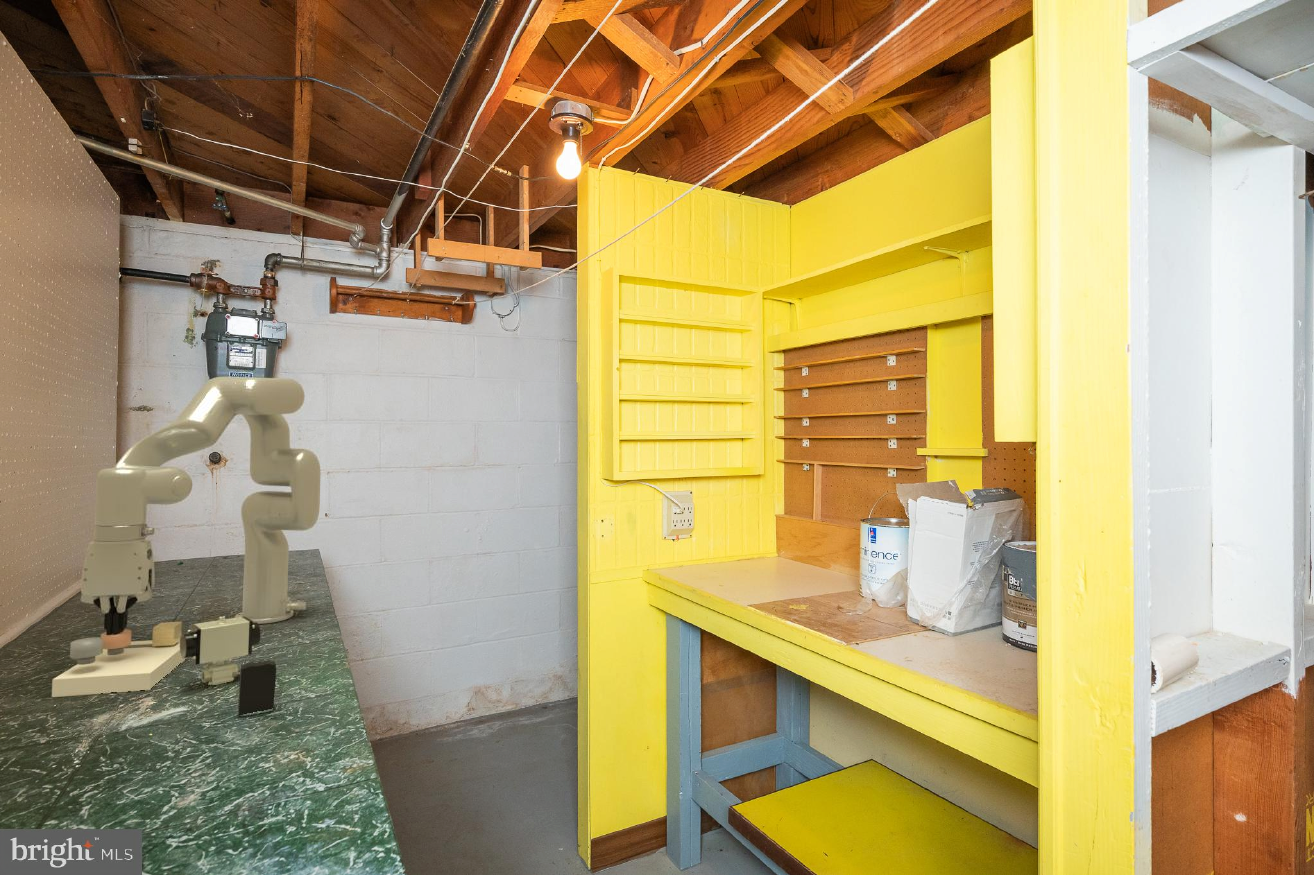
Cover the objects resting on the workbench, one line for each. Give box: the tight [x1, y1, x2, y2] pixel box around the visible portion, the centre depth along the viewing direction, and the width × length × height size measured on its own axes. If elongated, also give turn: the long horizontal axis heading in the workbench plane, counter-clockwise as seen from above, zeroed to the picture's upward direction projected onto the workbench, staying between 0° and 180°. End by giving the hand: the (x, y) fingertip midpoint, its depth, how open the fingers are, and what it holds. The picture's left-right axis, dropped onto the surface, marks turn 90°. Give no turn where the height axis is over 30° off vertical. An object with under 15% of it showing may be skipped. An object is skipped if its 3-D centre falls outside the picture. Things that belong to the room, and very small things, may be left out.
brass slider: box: [152, 621, 183, 646], centre depth 133 cm, size 4×4×4 cm
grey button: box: [69, 636, 103, 665], centre depth 118 cm, size 4×4×4 cm
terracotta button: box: [100, 629, 132, 655], centre depth 124 cm, size 4×4×4 cm
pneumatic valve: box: [180, 615, 262, 686], centre depth 122 cm, size 6×12×12 cm, turn 138°
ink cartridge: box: [237, 659, 277, 716], centre depth 109 cm, size 5×2×8 cm, turn 125°
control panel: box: [51, 639, 188, 698], centre depth 125 cm, size 14×22×3 cm, turn 18°
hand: (115, 632), depth 124 cm, fingers closed
